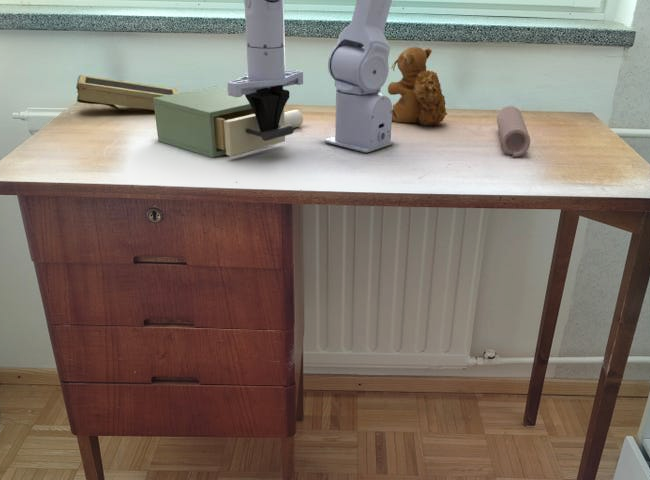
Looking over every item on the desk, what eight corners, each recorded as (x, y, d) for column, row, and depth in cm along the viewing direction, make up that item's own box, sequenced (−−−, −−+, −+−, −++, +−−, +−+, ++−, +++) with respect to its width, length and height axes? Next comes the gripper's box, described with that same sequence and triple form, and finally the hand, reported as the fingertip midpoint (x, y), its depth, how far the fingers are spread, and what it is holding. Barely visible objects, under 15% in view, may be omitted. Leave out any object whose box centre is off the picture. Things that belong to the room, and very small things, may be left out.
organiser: (272, 141, 120) (270, 99, 116) (213, 157, 111) (209, 112, 107) (217, 126, 127) (214, 86, 124) (158, 140, 118) (152, 97, 115)
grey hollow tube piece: (533, 132, 114) (524, 107, 129) (506, 127, 114) (500, 103, 129) (526, 159, 116) (518, 132, 131) (499, 155, 117) (493, 128, 132)
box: (77, 100, 135) (77, 73, 133) (193, 115, 143) (195, 90, 141) (76, 110, 129) (76, 83, 126) (197, 126, 137) (199, 100, 134)
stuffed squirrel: (416, 110, 143) (421, 41, 136) (460, 126, 133) (468, 53, 126) (376, 116, 138) (380, 44, 131) (419, 132, 128) (426, 56, 121)
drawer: (307, 147, 115) (307, 114, 112) (253, 163, 107) (251, 128, 104) (232, 127, 124) (230, 96, 121) (178, 140, 116) (174, 107, 113)
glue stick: (291, 124, 130) (291, 108, 129) (303, 127, 129) (303, 110, 127) (263, 132, 125) (262, 115, 124) (274, 135, 124) (274, 118, 122)
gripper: (280, 37, 110) (282, 124, 118) (211, 47, 101) (218, 140, 108) (312, 43, 107) (312, 132, 114) (244, 53, 97) (249, 149, 104)
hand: (268, 137), depth 111 cm, fingers closed
